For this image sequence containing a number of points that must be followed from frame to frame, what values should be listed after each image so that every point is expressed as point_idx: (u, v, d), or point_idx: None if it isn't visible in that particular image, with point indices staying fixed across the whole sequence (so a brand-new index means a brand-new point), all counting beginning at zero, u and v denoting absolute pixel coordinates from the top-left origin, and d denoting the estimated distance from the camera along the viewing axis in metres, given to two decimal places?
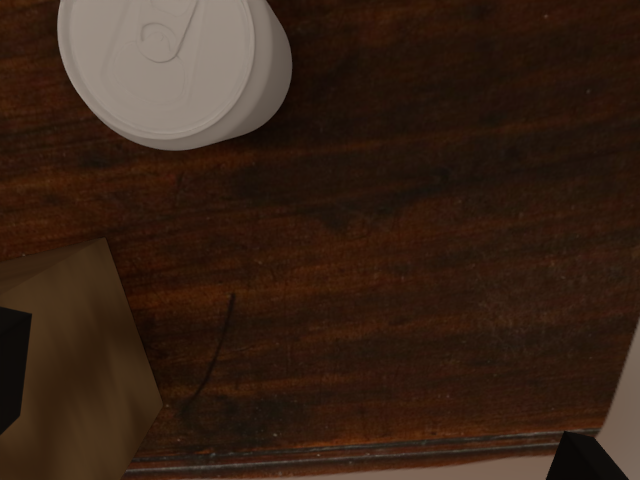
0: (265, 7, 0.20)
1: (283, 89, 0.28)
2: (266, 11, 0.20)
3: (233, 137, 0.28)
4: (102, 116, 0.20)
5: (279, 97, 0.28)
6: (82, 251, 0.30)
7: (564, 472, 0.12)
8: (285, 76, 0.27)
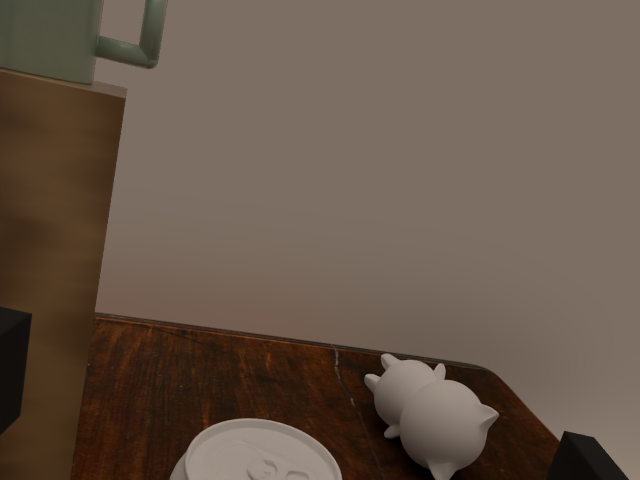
0: None
1: None
2: None
3: None
4: (210, 427, 0.26)
5: None
6: None
7: (564, 472, 0.12)
8: None
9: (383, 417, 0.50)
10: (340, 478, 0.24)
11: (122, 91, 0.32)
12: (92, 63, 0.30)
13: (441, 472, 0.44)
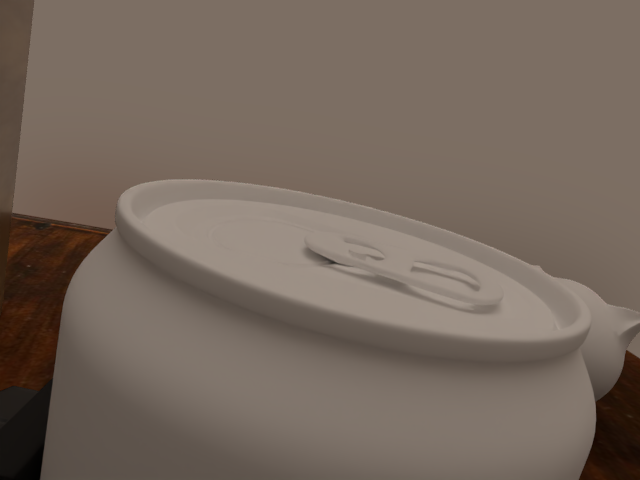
0: None
1: None
2: None
3: None
4: (200, 180, 0.10)
5: None
6: None
7: None
8: None
9: None
10: (556, 280, 0.09)
11: None
12: None
13: None
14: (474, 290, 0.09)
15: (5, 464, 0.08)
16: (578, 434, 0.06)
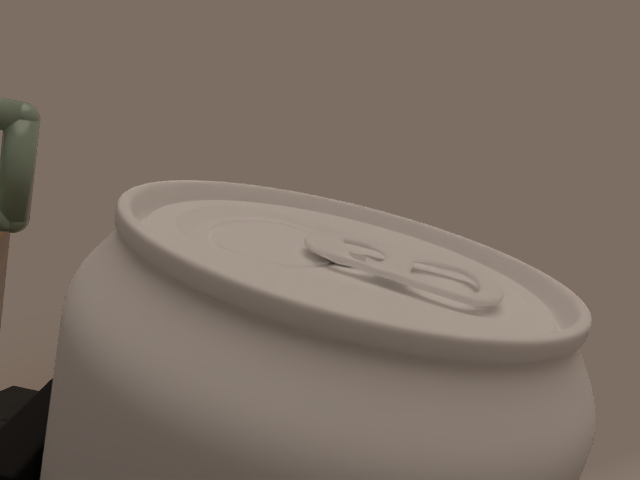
0: None
1: None
2: None
3: None
4: (200, 181, 0.10)
5: None
6: None
7: None
8: None
9: None
10: (556, 281, 0.09)
11: None
12: None
13: None
14: (474, 291, 0.09)
15: (5, 464, 0.08)
16: (578, 435, 0.06)
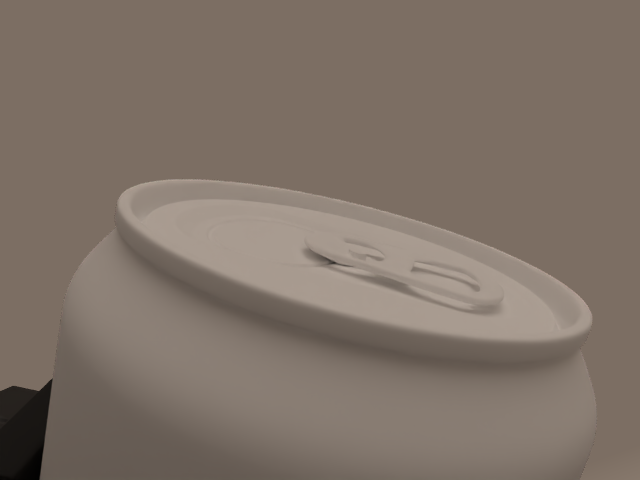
0: None
1: None
2: None
3: None
4: (200, 181, 0.10)
5: None
6: None
7: None
8: None
9: None
10: (557, 281, 0.09)
11: None
12: None
13: None
14: (474, 290, 0.09)
15: (5, 464, 0.08)
16: (579, 435, 0.06)
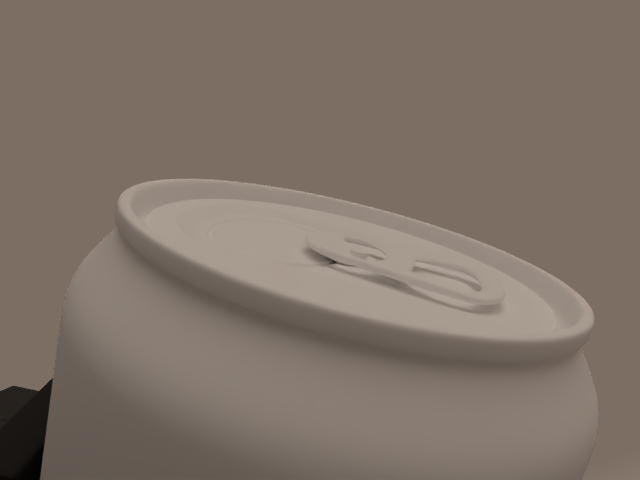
0: None
1: None
2: None
3: None
4: (201, 180, 0.10)
5: None
6: None
7: None
8: None
9: None
10: (558, 280, 0.09)
11: None
12: None
13: None
14: (476, 290, 0.09)
15: (5, 464, 0.08)
16: (581, 435, 0.06)
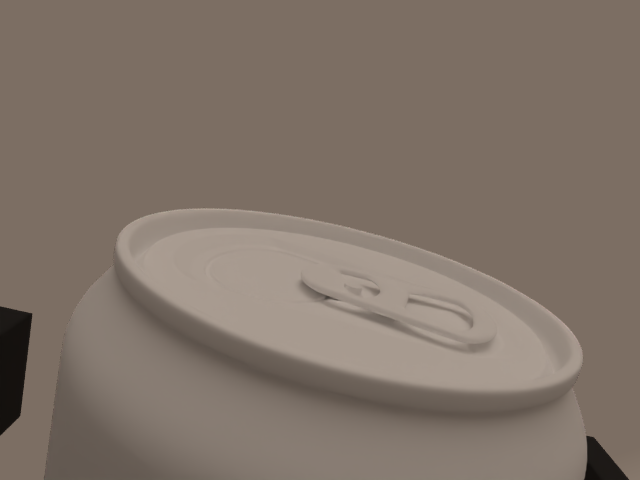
0: None
1: None
2: None
3: None
4: (199, 209, 0.10)
5: None
6: None
7: None
8: None
9: None
10: (550, 313, 0.09)
11: None
12: None
13: None
14: (468, 323, 0.09)
15: None
16: (568, 478, 0.06)
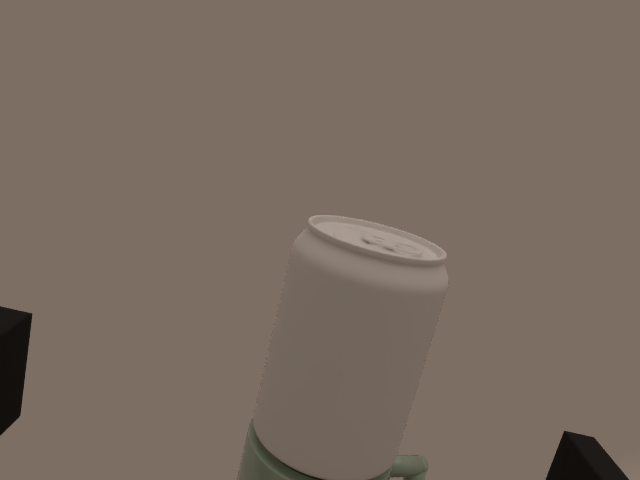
0: (413, 291, 0.24)
1: (316, 423, 0.25)
2: (410, 289, 0.24)
3: (270, 370, 0.27)
4: (321, 215, 0.29)
5: (310, 412, 0.25)
6: None
7: (564, 472, 0.12)
8: (333, 413, 0.25)
9: None
10: (442, 250, 0.27)
11: None
12: None
13: None
14: None
15: None
16: (435, 285, 0.25)
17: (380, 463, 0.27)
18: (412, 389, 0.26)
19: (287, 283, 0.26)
